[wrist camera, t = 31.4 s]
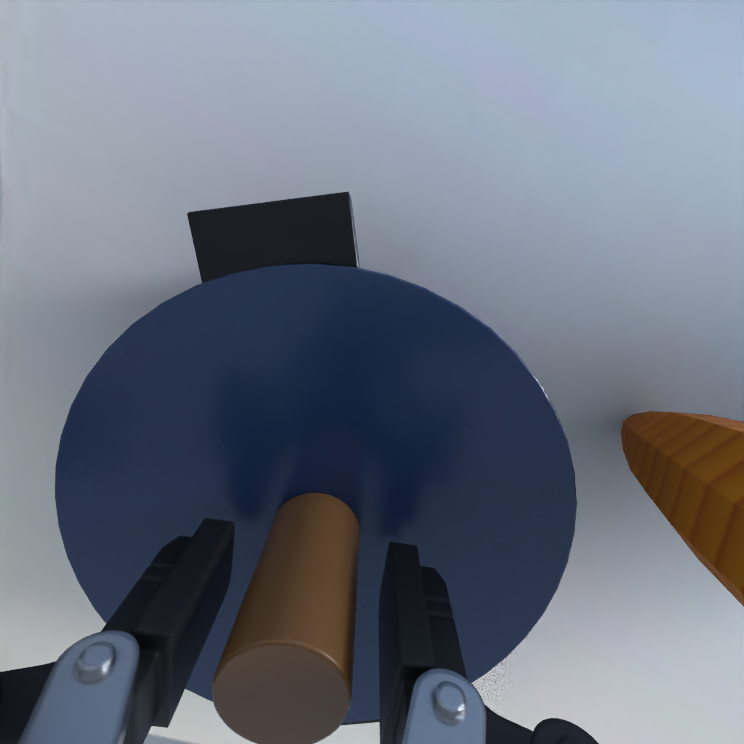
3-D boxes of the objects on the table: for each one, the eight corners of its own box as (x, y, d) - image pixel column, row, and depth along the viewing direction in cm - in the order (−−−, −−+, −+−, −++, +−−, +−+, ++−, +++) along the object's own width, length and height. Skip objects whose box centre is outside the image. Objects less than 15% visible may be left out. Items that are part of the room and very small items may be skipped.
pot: (118, 242, 17) (-17, 235, 11) (489, 195, 16) (553, 161, 10) (217, 623, 22) (160, 757, 16) (506, 596, 21) (557, 724, 15)
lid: (367, 132, 10) (361, 1, 5) (659, 564, 14) (843, 762, 8) (-42, 474, 13) (-337, 628, 7) (286, 772, 16) (242, 1028, 11)
